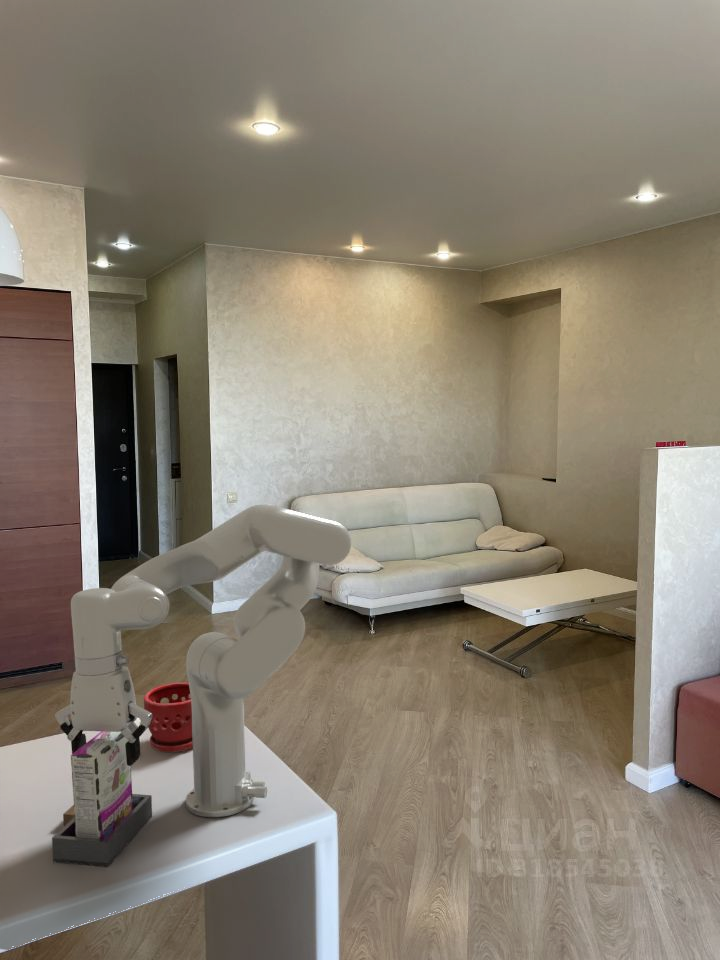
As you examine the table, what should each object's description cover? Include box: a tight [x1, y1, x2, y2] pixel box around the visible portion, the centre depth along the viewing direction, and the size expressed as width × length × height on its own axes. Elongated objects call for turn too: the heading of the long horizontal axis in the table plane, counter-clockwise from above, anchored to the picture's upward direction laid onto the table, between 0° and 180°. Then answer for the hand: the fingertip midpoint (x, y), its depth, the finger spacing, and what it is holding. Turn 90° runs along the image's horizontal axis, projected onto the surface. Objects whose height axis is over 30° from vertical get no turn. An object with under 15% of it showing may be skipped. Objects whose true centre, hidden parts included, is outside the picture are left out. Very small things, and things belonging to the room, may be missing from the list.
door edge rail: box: [62, 804, 75, 827], centre depth 138 cm, size 2×16×2 cm, turn 170°
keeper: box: [51, 793, 153, 868], centre depth 126 cm, size 10×16×4 cm, turn 170°
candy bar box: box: [70, 731, 133, 839], centre depth 126 cm, size 11×5×16 cm, turn 170°
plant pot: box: [143, 682, 193, 753], centre depth 164 cm, size 13×13×12 cm
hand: (106, 761), depth 126 cm, fingers open, 9 cm apart
